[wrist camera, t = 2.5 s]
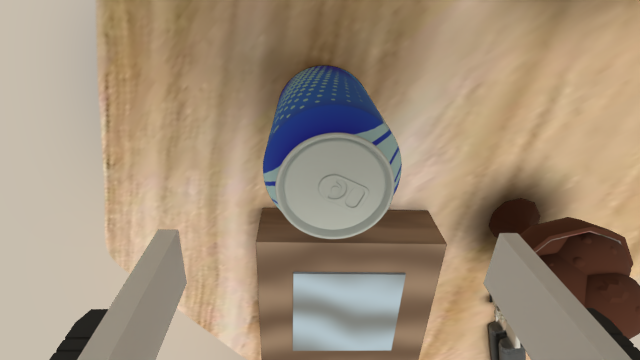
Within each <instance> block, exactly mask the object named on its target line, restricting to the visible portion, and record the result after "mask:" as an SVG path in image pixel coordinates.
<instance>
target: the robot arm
mask: <svg viewBox="0 0 640 360" xmlns="http://www.w3.org/2000/svg"><path fill="white" fill-rule="evenodd" d="M186 284H187V281H186V275H185V269H184V263H183V257H182V251H181V245H180V239H179V232H178V230H158V231H157V232H156V234H155V236H154V237H153V239H152V240H151V242H150V244H149V245H148V247H147V248H146V250H145V252H144V253H143V255H142V256H141V258H140V260H139V261H138V263H137V264H136V266H135V268H134V269H133V271H132V272H131V274H130V276H129V278H128V279H127V280H126V282H125V284H124V285H123V287H122V289H121V290H120V292H119V293H118V295H117V297H116V298H115V300H114V302H113V303H112V305H111V306H110V308H109V309H103V310H101V309H96V310H93V309H91V310H90V311H89V312H88V313H86V314H85V315H84V316H83V317H82V318H81V319H79V320H78V321H77V322H76V323H75V324H74V326H73V327H72V328H71V330H70V332H69V333H68V334H67V336H66V337H65V340H63V341H62V343H61V344H60V346H59V347H58V348H57V351H56V353H54V354H53V355H52V357H51V358H50V360H155V359H156V357H157V355H158V352H159V350H160V347H161V345H162V342H163V340H164V337H165V335H166V333H167V330H168V327H169V325H170V323H171V320H172V318H173V315H174V313H175V311H176V308H177V306H178V303H179V301H180V298H181V296H182V293H183V291H184V288H185V286H186ZM483 284H484V285H485V287H486V288H487V290H488V292H489V293H490V295H491V296H492V298H493V299H494V301H495V303H496V304H497V306H498V307H499V309H500V311H501V312H502V314H503V315H504V317H505V319H506V320H507V322H508V323H509V325H510V327H511V328H512V330H513V331H514V333H515V335H516V336H517V338H518V339H519V341H520V342H521V344H522V346H523V347H524V349H525V350H526V352H527V354H528V355H529V357H530V358H531V360H640V351H639V350H638V349H637V348H636V347H634V346H633V345H634V344H633V343H632V342H631V341H630V340H629V339H628V338H627V337H626V336H623V333H622V332H621V331H620V330H619V329H618V328H617V326H616V325H615V324H614V323H613V322H612V321H611V320H610V319H608V318H607V317H606V316H604V315H603V314H601V313H600V312H598V311H597V310H596V309H594V308H585V307H584V306H583V305H582V304H581V303H580V302H579V301H578V299H577V298H576V297H575V296H574V295H573V294H572V293H571V292H570V291H569V289H568V288H567V287H566V286H565V285H564V284H563V283H562V282H561V281H560V280H559V278H558V277H557V276H556V275H555V274H554V273H553V272H552V271H551V270H550V269H549V267H548V266H547V265H546V264H545V263H544V262H543V261H542V260H541V259H540V257H539V256H538V255H537V254H536V253H535V252H534V251H533V250H532V249H531V248H530V246H529V245H528V244H527V243H526V242H525V241H524V240H523V239H522V238H521V237H520V235H519V234H518V233H499V237H498V240H497V243H496V246H495V249H494V252H493V255H492V258H491V262H490V265H489V268H488V271H487V274H486V277H485V280H484V283H483Z"/></svg>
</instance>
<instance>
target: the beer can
mask: <svg viewBox="0 0 640 360" xmlns="http://www.w3.org/2000/svg"><path fill="white" fill-rule="evenodd" d="M401 165H402V164H401V155H400V150H399V147H398V144H397V142H396V139H395V137H394V136H393V134H392V132H391V131H390V129H389V127H388V126H387V124H386V123H385V121H384V119H383V118H382V116H381V115H380V113H379V111H378V110H377V108H376V106H375V105H374V103H373V102H372V100H371V98H370V97H369V95H368V94H367V92H366V90H365V89H364V87H363V86H362V84H361V83H360V82H359V81H358V79H356V78H355V77H354V76H353V75H352V74H350V73H349V72H347V71H345V70H343V69H340V68H338V67H333V66H315V67H311V68H308V69H306V70H303V71H302V72H300V73H298V74H297V75H295V76H294V77H293V78H292V79H291V80H290V81H289V82H288V83H287V84H286V86H285V87H284V89H283V91H282V93H281V95H280V98H279V101H278V105H277V109H276V113H275V117H274V121H273V124H272V128H271V132H270V136H269V140H268V144H267V147H266V151H265V155H264V161H263V176H264V182H265V185H266V188H267V191H268V193H269V195H270V197H271V199H272V200H273V202H274V203H275V205H276V206H277V207H278V208H279V210H280V211H281V212H282V213H283V214H284V216H285V217H286V218H287V220H288V221H289V222H290V223H291V224H292V225H294V226H295V227H296V228H298V229H299V230H301V231H302V232H304V233H306V234H309V235H311V236H314V237H318V238H324V239H342V238H348V237H352V236H355V235H357V234H360V233H362V232H364V231H366V230H368V229H369V228H371V227H372V226H373V225H375V224H376V223H377V222H378V221H379V220H380V219H381V218H382V217H383V215H384V214H385V213H386V211H387V210H388V208H389V206H390V204H391V201H392V198H393V195H394V193H395V191H396V189H397V187H398V184H399V180H400V176H401Z"/></svg>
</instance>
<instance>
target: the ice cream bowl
mask: <svg viewBox="0 0 640 360" xmlns="http://www.w3.org/2000/svg"><path fill="white" fill-rule="evenodd" d="M539 219H540V214H539V212H538V210H537V208H536V205H535V203H534V202H531V201H528V200H525V199H522V198H520V199H516V200H512V201H508V202H505V203H504V204H503V205H501V206H500V207H499V208H498V209H497V210H496V211H494V212H493V214H492V217H491V221H490V224H489V227H490V229H491V230H492V232H493V234H494V236H495V237H497V238H498V237H499V233H518V234H519V235H520V237H521V238H522V239H523V240H524V241H525V242H526V243H527V244H528V245H529V246H530V248H531V249H532V250H533V251H534V252H535V253H536V254H537V255H538V256H539V257H540V259H541V260H542V261H543V262H544V263H545V264H546V265H547V266H548V267H549V269H550V270H551V271H552V272H553V273H554V274H555V275H556V276H557V277H558V278H559V280H560V281H561V282H562V283H563V284H564V285H565V286H566V287H567V288H568V289H569V291H570V292H571V293H572V294H573V295H574V296H575V297H576V298H577V299H578V301H579V302H580V303H581V304H582V305H583V306H584V307H585V308H594V309H596V310H597V311H598V312H600V313H601V314H603V315H604V316H606V317H607V318H608V319H610V320H611V321H612V322H613V323H614V324H615V325H616V326H617V328H618V329H619V330H620V331H621V332H622V333H623V336H626V337H627V338H628V339H631V338H632V337H634V336H636V335H638V334H639V333H640V286H639V284H638V283H637V282H636V281H635V280H634V279H632V278H631V277H629V275H630V272H631V267H632V265H633V261H632V258H631V255H630V252H629V249H628V246H627V243H626V239H625V237H623V236H621V235H619V234H617V233H615V232H613V231H610V230H608V229H605V228H602V227H600V226H597V225H594V224H591V223H588V222H585V221H582V220H579V219H574V218H570V217H566V218H562V219H558V220H554V221H549V222H545V223H541V224H538V222H539Z"/></svg>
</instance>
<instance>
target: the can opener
mask: <svg viewBox="0 0 640 360" xmlns="http://www.w3.org/2000/svg"><path fill="white" fill-rule="evenodd" d="M490 302H493V304H494V307H495V308H496V309H495V310H494V314H495V317H496V321H495V322H492V323H491V324H490V325H489V338H490V349H491V359H492V360H526V355H525V349H524V347H523V346H522V344H521V342H520V341H519V339H518V338H517V336H516V335H515V333H514V331H513V330H512V328H511V327H510V325H509V323H508V322H507V320H506V319H505V317H504V315H503V314H502V312H501V311H500V309H499V307H498V306H497V304H496V303H495V301H494V299H493V298H492V296H491V295H490Z"/></svg>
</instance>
